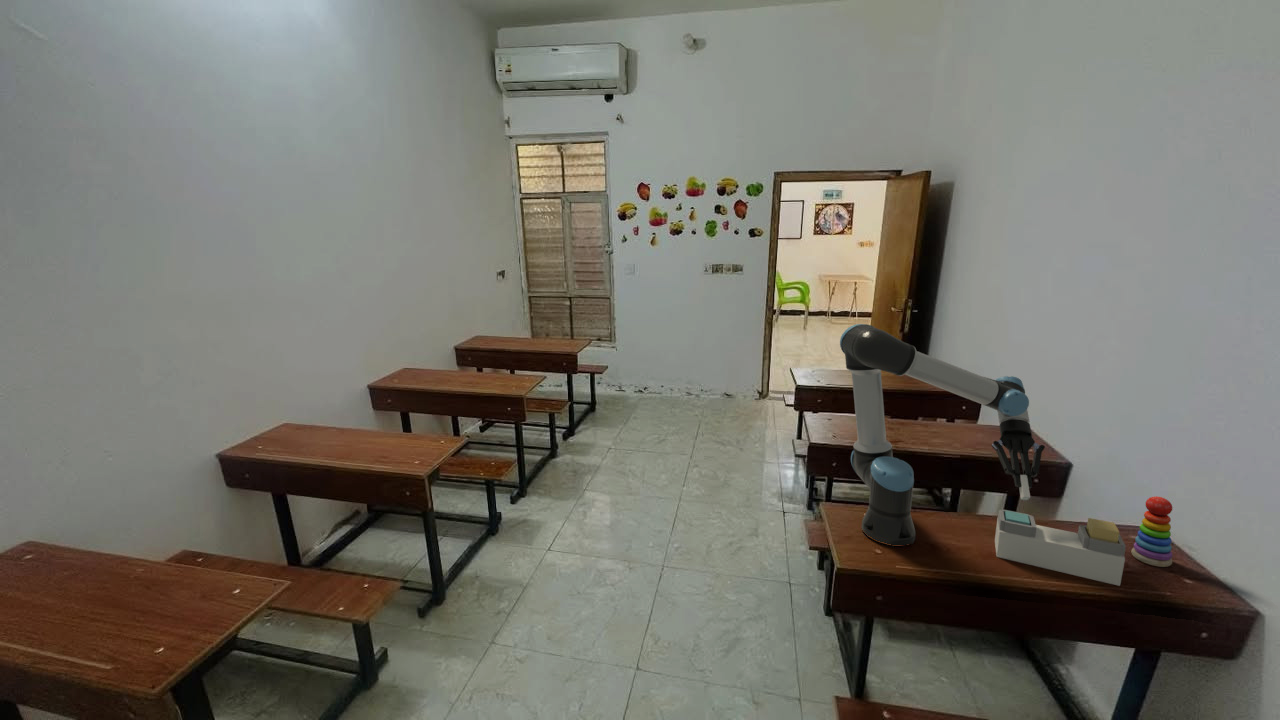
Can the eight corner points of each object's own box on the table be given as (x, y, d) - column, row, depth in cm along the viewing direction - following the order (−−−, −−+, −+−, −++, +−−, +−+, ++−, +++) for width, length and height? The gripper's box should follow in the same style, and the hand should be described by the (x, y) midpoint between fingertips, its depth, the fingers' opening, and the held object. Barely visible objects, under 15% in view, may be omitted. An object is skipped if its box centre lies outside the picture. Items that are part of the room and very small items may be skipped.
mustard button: (1090, 538, 130) (1092, 526, 129) (1086, 529, 134) (1088, 517, 133) (1117, 544, 127) (1119, 532, 126) (1112, 534, 131) (1114, 522, 131)
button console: (996, 556, 141) (1000, 521, 138) (994, 541, 148) (998, 507, 146) (1120, 586, 127) (1127, 547, 125) (1111, 567, 134) (1117, 530, 132)
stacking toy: (1153, 551, 140) (1165, 491, 136) (1180, 569, 132) (1193, 505, 129) (1122, 550, 141) (1133, 491, 137) (1148, 568, 133) (1160, 505, 129)
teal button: (1005, 529, 140) (1006, 518, 139) (1003, 521, 144) (1005, 510, 143) (1028, 534, 137) (1029, 523, 136) (1026, 525, 141) (1027, 514, 141)
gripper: (1036, 431, 151) (1049, 506, 139) (985, 427, 156) (994, 499, 144) (1044, 420, 145) (1059, 497, 134) (992, 416, 150) (1001, 490, 139)
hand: (1025, 498), depth 139 cm, fingers closed
